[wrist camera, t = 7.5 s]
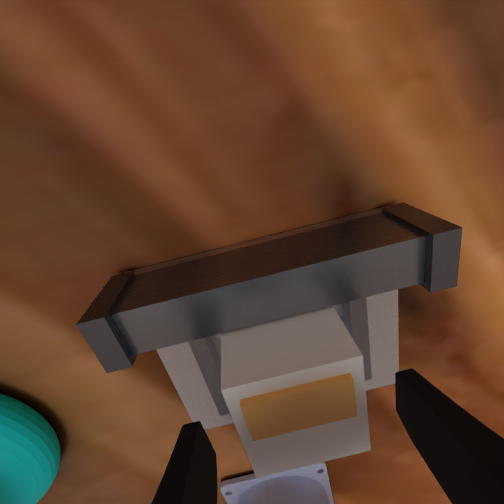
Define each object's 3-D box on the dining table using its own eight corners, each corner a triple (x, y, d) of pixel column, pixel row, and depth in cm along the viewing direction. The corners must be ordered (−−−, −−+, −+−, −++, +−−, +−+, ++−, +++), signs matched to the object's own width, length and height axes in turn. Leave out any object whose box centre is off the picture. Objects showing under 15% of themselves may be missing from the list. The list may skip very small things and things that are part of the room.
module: (323, 347, 16) (374, 457, 10) (246, 366, 16) (257, 485, 10) (311, 271, 14) (366, 361, 8) (221, 293, 14) (220, 397, 8)
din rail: (398, 373, 18) (442, 436, 14) (194, 423, 18) (186, 497, 15) (396, 199, 13) (462, 227, 9) (116, 270, 13) (76, 324, 10)
